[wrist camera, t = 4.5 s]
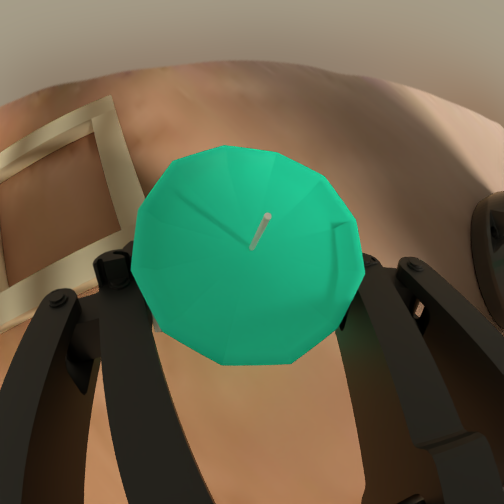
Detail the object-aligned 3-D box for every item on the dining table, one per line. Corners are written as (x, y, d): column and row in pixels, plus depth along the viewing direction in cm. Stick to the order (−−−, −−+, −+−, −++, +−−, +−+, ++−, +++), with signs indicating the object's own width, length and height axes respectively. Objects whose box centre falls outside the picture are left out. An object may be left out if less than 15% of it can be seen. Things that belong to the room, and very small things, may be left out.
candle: (154, 297, 16) (59, 213, 5) (225, 231, 18) (259, 75, 7) (226, 371, 16) (274, 443, 4) (295, 299, 17) (432, 228, 6)
